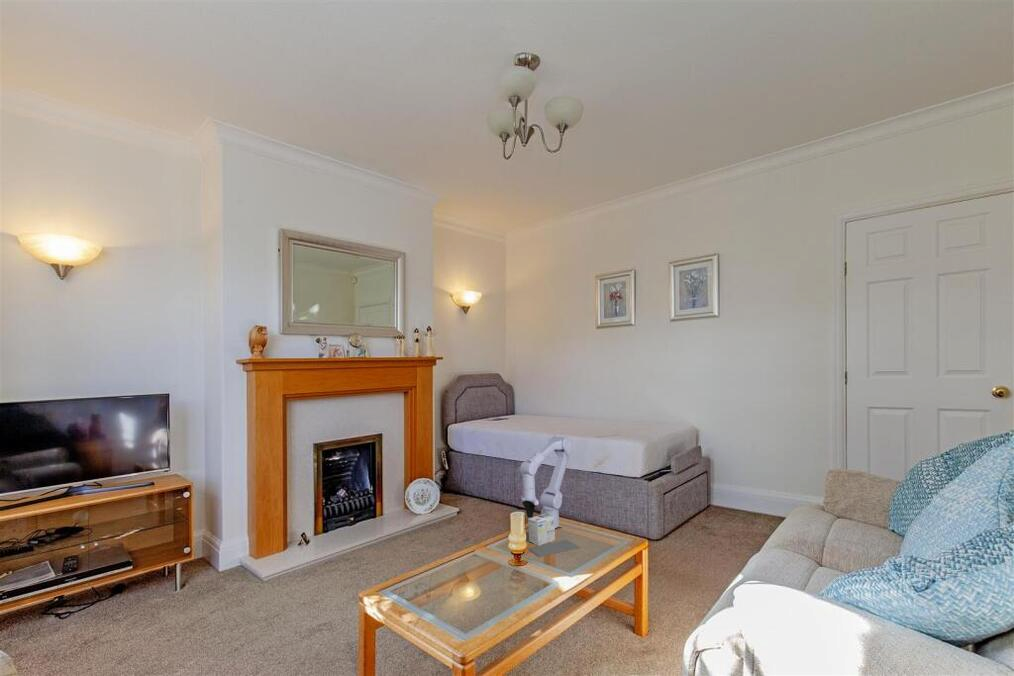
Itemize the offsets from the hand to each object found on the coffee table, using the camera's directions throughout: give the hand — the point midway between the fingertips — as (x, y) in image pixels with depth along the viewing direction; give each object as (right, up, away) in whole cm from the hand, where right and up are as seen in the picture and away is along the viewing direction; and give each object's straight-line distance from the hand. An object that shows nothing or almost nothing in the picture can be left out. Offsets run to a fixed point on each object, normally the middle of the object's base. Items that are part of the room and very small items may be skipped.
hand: (530, 517), depth 225 cm
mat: (+9, -6, -19) cm, 22 cm away
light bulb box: (+5, -7, -10) cm, 14 cm away
